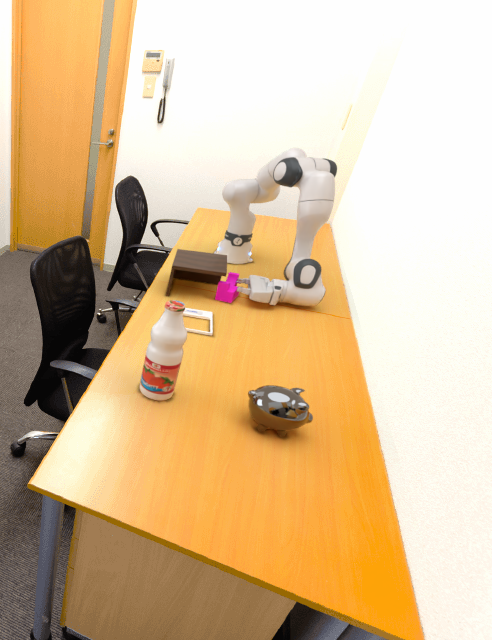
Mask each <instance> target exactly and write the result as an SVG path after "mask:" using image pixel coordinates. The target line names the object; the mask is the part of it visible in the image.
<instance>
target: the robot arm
mask: <svg viewBox="0 0 492 640" xmlns="http://www.w3.org/2000/svg"><path fill="white" fill-rule="evenodd" d="M337 173H338V165H337V163H336V162H335V161H334V160H331V159H329V158H325V157H324V158H323V157H322V158H321V157H314V156H313V157H312V156H307V153H306V152H305V151H304V150H303V149H302V148H299V147H290V148H288V149H287V150H284V151H282V152H281V153H279V154H278V155H276V156H275V157H273V158H272V159H271V160H270V161H268V162H267V163H265V165H263V166H262V167H261V168H260V169H259V170H258V172H257V175H256V178H239V179H234V180H229V181H228V182H227V183H226V184H225V185H224V186H223V188H222V193H221V195H222V199H223V201H224V202H225V203H226V204H227V205H228V208H229V211H230V213H229V214H230V215H229V221H228V224H227V229H226V230H225V232H224V236H223V239H222V240H221V241H219V242H218V243H217V248H216V250H214V252H213V253H214V254H222V255H227V264H234V265H242V264H248V263H253V261H254V259H253V258H252V257H251V255H252V250H253V244H252V243H251V241H252V238H253V234H254V233H253V231H254V228H255V224H256V221H257V217H256V215H255V213H253V212H252V211H251V210H250V205H251V204H264V203H265V204H266V203H269V202H273V201H274V200H277V198H278V197H279V195H280V192H281V186H282V187H286V188H293V187H294V188H298V189H299V196H298V202H297V206H296V207H297V210H296V228H295V229H296V231H295V232H296V233H295V238H294V243H293V248H292V252H291V253H292V254H291V256H290V259H289V260H288V262H287V264H285V267H284V269H283V278H284V279H278V278H272V279H271V280H270V278H268V277H266V276H262V275H256V274H249V275H248V278H247V277H244V278H241V277H239V278H237V281H236V283H237V284H239V285H241V284H245V285H247V287H243V286H238V285H237V286H238V287H237V292H239V293H242V294H244V295H247V296H249V297H248V298H249V300H251V301H253V302H257V303H263V304H269V305H270V306H276V305H277V304H278V303H288V304H291V305H294V306H303V307H314V306H317V305H318V304H320V303H321V302H322V301H323V299H324V297H325V295H326V291H327V290H326V287H325V286H324V284H323V283H324V282H323V279H322V266H321V264H320V262H318V261H317V260H316V259H313V258H311V256H312V251H313V246H314V242H315V239H316V236H317V234H318V233H319V231H320V229H321V228H322V227H323V226H324V225H325V224H326V223H327V222H328V221H329V219H330V216H331V214H332V212H333V208H334V204H335V195H336V181H335V180H336V179H335V178H336V176H337Z"/></svg>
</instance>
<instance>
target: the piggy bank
mask: <svg viewBox="0 0 492 640" xmlns="http://www.w3.org/2000/svg"><path fill="white" fill-rule="evenodd" d="M304 392H306V390H305V389H303V388H301V387H292V388H287V387H285V386H280V385H275V384H267V385H262V386H258V387H257V388H256V389H252V390H248V391H247V395H248V412H249V414H250V416H251V418H252V419H253V420H254V422H256V424H257V425H256V430H257V431H258V432H260V433H263V432H265V431H267V429H270V430H274V431H275V432H276V434H277V435H278V436H279V437H285V436H286V434H287V433H288V432H289V431H294V430H297V429H300V428H302V427H304V426H305V425H308V424H311V423H312V422H313V420H314V416H313V413H311V412H310V404H309V403H308V402H306V400H305V399H304V397H303V396H302V395H301V393H304Z"/></svg>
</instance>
